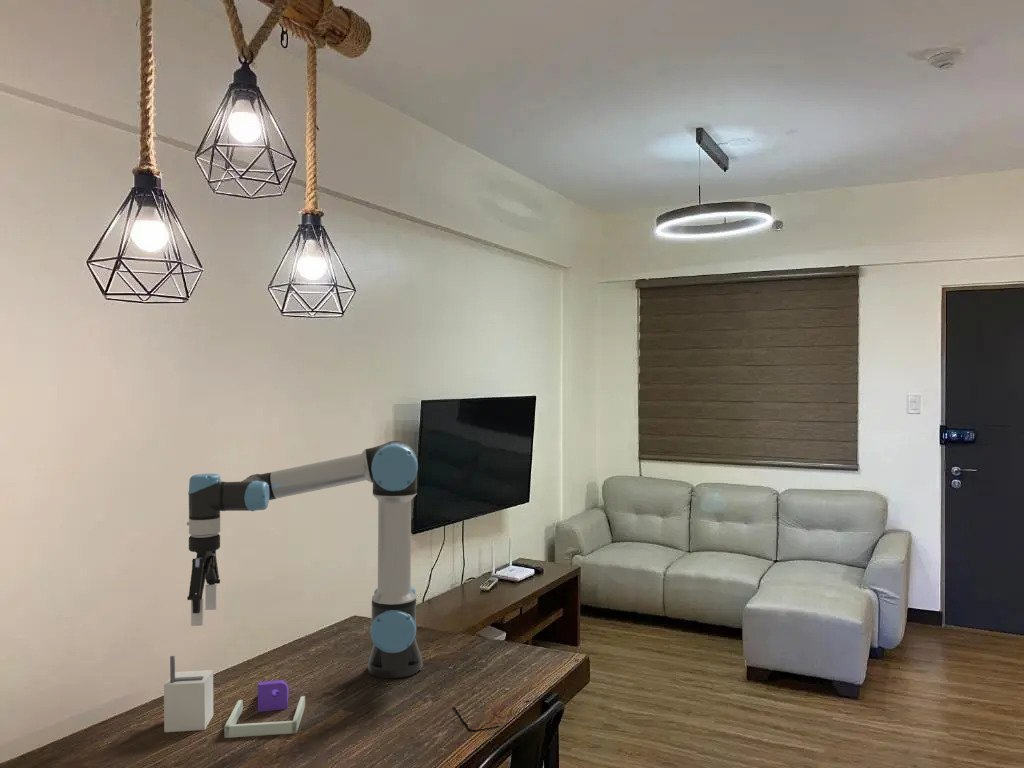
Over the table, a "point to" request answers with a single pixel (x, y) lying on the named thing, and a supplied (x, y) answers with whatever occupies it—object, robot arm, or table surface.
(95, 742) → the table surface
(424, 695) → the table surface
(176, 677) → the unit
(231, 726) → the corral
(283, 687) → the bracket
